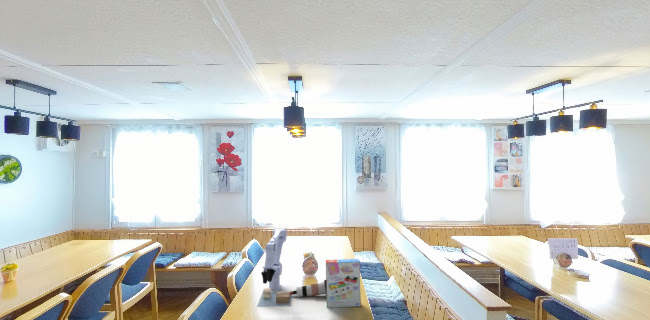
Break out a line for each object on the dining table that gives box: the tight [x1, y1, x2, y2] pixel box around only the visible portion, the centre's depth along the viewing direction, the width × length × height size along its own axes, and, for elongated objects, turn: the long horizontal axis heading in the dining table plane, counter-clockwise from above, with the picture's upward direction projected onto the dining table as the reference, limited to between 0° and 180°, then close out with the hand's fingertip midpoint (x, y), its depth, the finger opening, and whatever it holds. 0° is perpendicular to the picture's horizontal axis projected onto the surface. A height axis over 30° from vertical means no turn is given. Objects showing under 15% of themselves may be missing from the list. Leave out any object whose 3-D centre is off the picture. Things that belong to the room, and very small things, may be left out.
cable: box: [289, 279, 327, 298], centre depth 212 cm, size 10×34×10 cm, turn 94°
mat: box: [256, 291, 293, 308], centre depth 207 cm, size 22×20×1 cm
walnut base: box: [276, 291, 290, 304], centre depth 204 cm, size 8×8×4 cm
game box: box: [325, 258, 362, 309], centre depth 198 cm, size 21×6×27 cm, turn 92°
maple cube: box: [262, 287, 272, 298], centre depth 211 cm, size 4×4×4 cm
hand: (267, 282), depth 208 cm, fingers open, 7 cm apart
